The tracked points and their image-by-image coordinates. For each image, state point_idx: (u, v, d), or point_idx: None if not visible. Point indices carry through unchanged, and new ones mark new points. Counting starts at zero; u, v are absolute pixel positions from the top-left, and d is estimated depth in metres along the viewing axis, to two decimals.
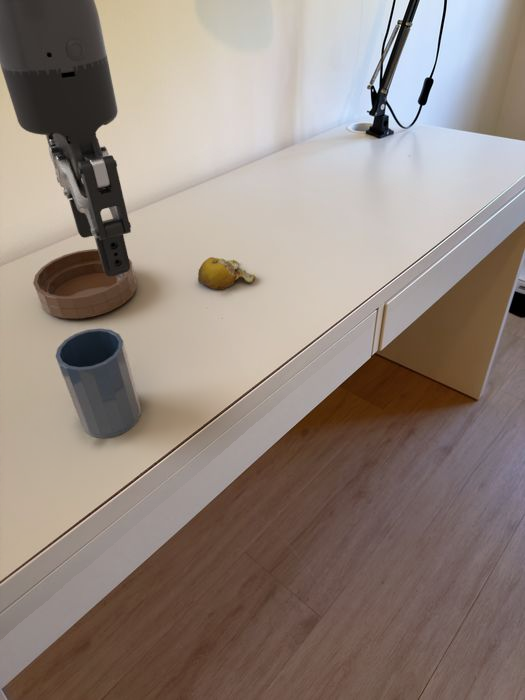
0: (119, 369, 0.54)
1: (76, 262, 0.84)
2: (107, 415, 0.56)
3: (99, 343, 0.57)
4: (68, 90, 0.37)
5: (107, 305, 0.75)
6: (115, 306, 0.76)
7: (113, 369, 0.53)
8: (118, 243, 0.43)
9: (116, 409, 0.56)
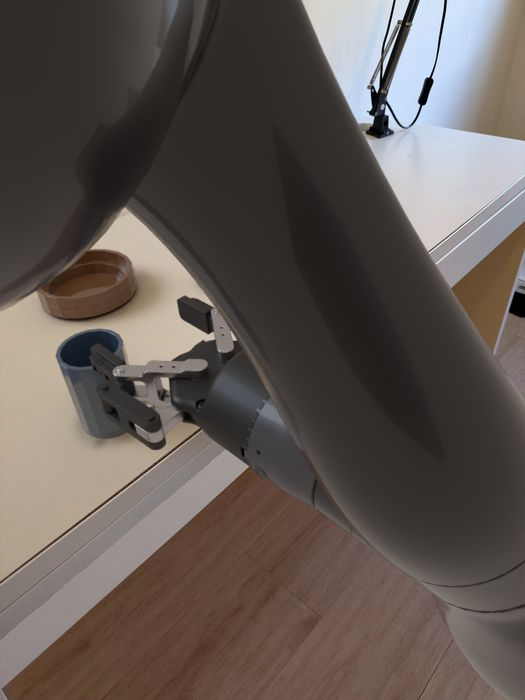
0: None
1: (76, 262, 0.84)
2: None
3: (99, 343, 0.57)
4: (231, 442, 0.33)
5: (107, 305, 0.75)
6: (115, 306, 0.76)
7: None
8: None
9: None
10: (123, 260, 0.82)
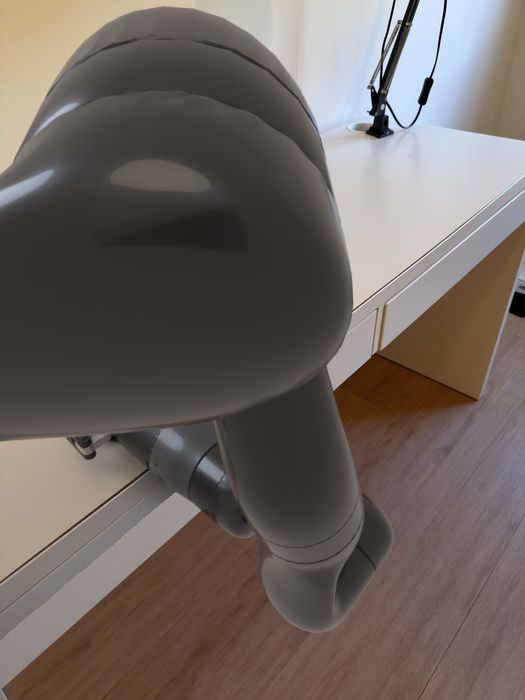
0: None
1: None
2: None
3: None
4: (140, 457, 0.47)
5: None
6: None
7: None
8: None
9: None
10: None
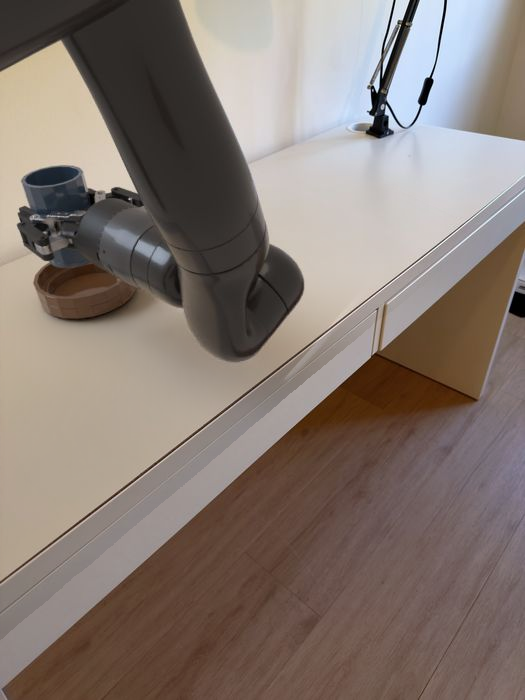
0: (78, 194, 0.59)
1: None
2: None
3: (63, 181, 0.63)
4: (92, 251, 0.53)
5: (107, 305, 0.75)
6: (115, 306, 0.76)
7: (72, 192, 0.59)
8: None
9: None
10: None
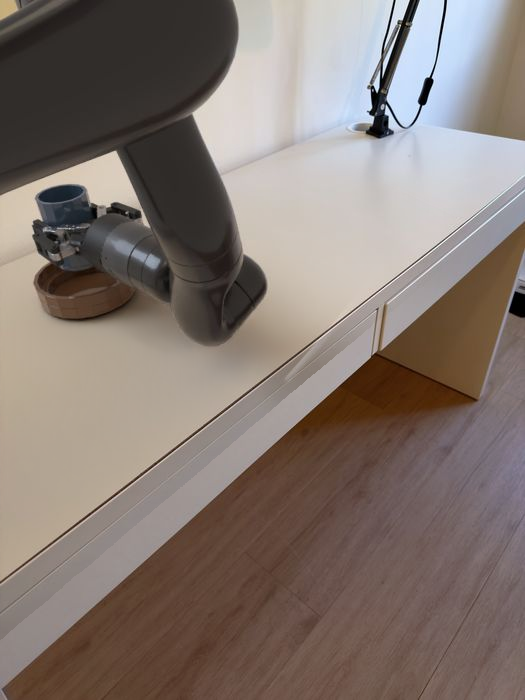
0: (83, 209, 0.70)
1: None
2: None
3: (69, 197, 0.74)
4: (95, 258, 0.64)
5: (107, 305, 0.75)
6: (115, 306, 0.76)
7: (78, 207, 0.70)
8: None
9: None
10: None
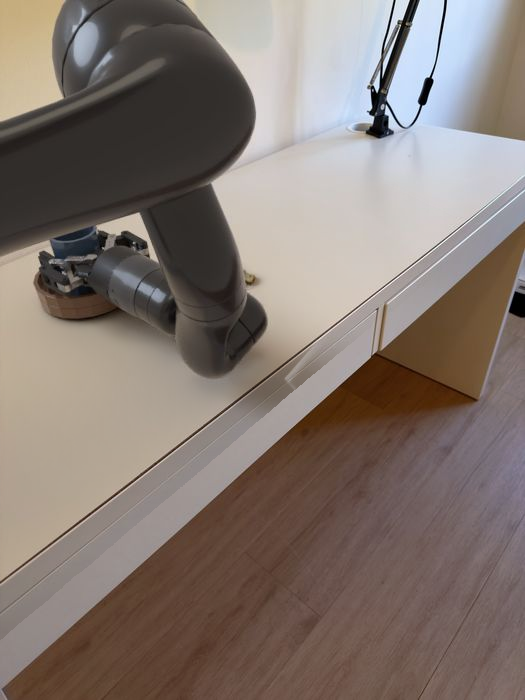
0: (93, 246, 0.74)
1: None
2: None
3: (80, 233, 0.77)
4: (103, 289, 0.67)
5: (107, 305, 0.75)
6: (115, 306, 0.76)
7: (89, 245, 0.73)
8: None
9: None
10: None
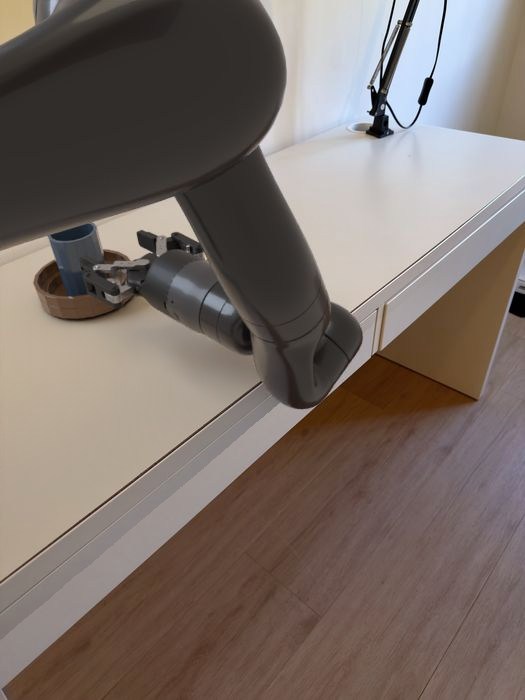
0: (93, 246, 0.74)
1: None
2: None
3: (80, 233, 0.77)
4: (159, 300, 0.57)
5: (107, 305, 0.75)
6: None
7: (89, 245, 0.73)
8: None
9: None
10: (123, 260, 0.82)
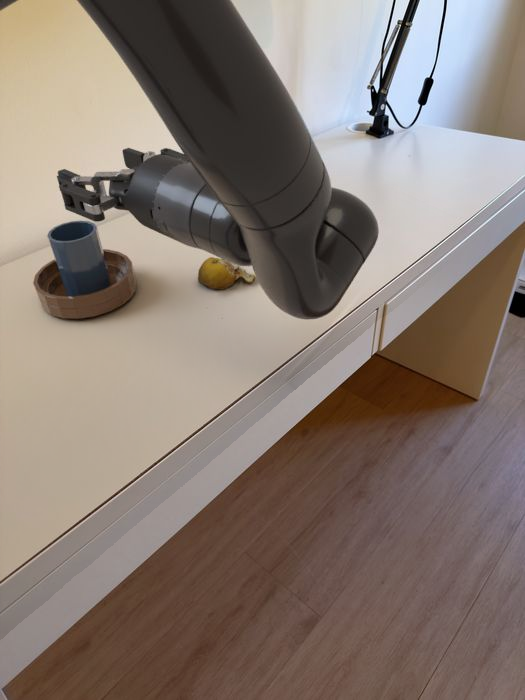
0: (93, 246, 0.74)
1: None
2: (85, 283, 0.76)
3: (80, 233, 0.77)
4: (145, 209, 0.50)
5: (107, 305, 0.75)
6: (115, 306, 0.76)
7: (89, 245, 0.73)
8: None
9: (92, 279, 0.76)
10: (123, 260, 0.82)
